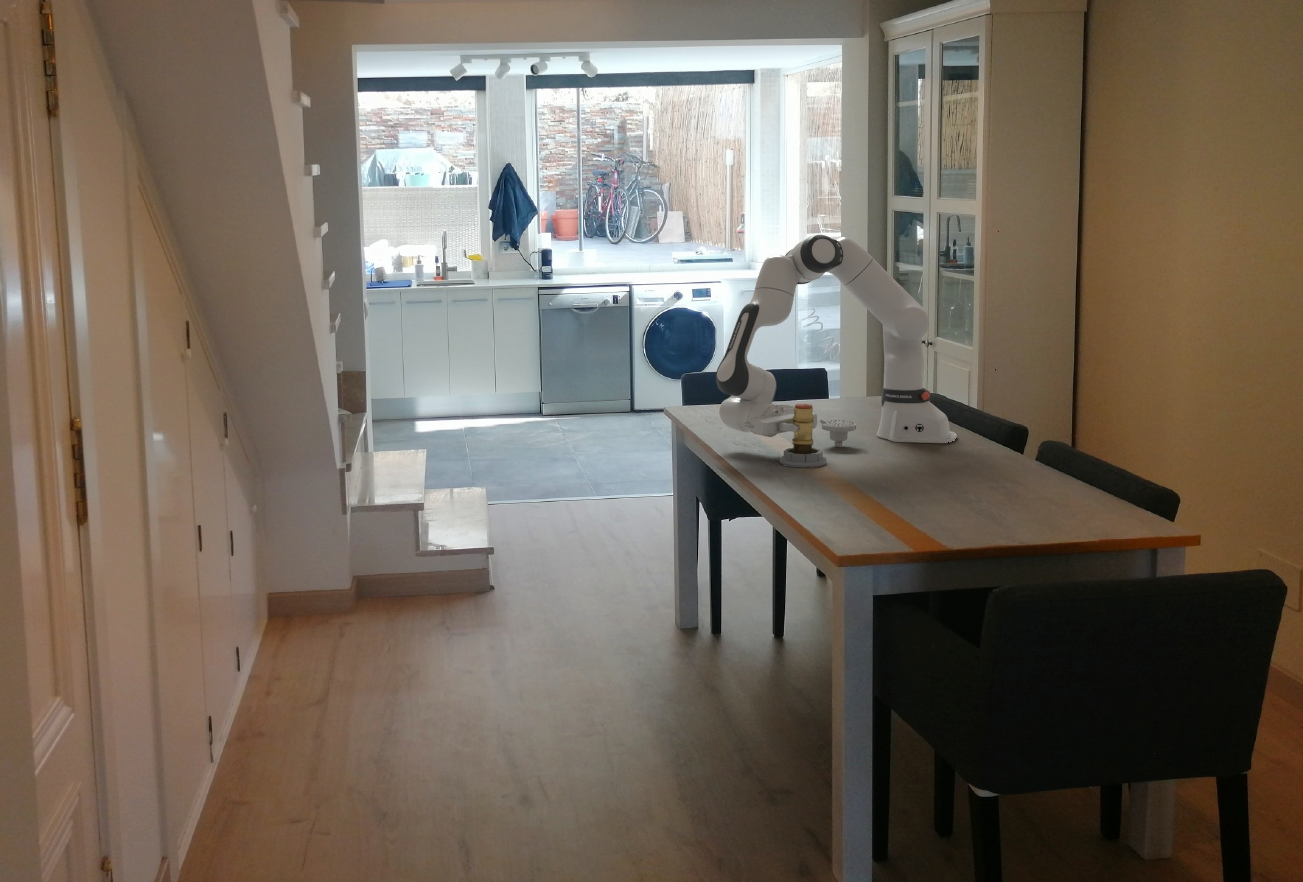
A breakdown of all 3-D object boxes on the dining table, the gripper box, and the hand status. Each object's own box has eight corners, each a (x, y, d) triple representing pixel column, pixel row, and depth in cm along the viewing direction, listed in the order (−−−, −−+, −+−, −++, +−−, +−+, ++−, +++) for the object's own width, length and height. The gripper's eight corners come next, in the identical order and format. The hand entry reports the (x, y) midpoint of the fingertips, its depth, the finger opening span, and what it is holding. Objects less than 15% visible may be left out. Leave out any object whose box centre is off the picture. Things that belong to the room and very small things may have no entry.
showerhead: (820, 417, 353) (856, 418, 351) (820, 442, 354) (856, 443, 352) (818, 422, 344) (855, 423, 342) (818, 448, 345) (854, 450, 343)
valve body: (815, 451, 328) (816, 404, 325) (809, 455, 323) (811, 407, 320) (795, 450, 330) (796, 403, 327) (789, 454, 325) (790, 406, 322)
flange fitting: (831, 460, 330) (831, 448, 329) (819, 469, 319) (819, 457, 319) (787, 457, 335) (787, 445, 334) (774, 465, 324) (774, 453, 323)
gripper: (739, 412, 328) (777, 419, 317) (794, 404, 340) (832, 410, 330) (739, 436, 329) (777, 444, 318) (793, 426, 342) (831, 434, 331)
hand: (805, 427), depth 324 cm, fingers closed on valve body, 5 cm apart
